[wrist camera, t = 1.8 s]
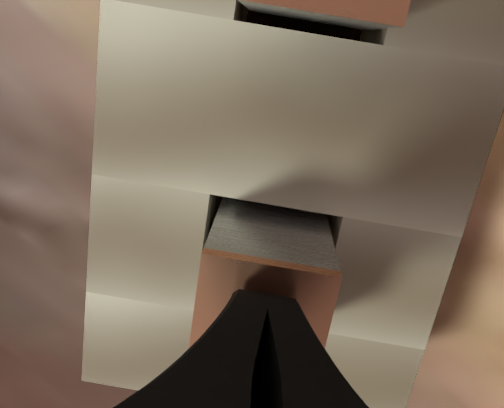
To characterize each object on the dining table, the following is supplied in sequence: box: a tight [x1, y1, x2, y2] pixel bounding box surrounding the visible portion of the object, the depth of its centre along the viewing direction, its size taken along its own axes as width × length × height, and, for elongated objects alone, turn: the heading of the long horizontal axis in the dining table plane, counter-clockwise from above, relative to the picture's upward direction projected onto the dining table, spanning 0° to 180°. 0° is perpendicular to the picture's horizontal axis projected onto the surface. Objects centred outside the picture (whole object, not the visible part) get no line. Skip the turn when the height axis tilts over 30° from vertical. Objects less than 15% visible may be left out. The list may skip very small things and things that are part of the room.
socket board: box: [82, 0, 504, 408], centre depth 14 cm, size 18×10×4 cm, turn 171°
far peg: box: [189, 197, 342, 348], centre depth 13 cm, size 3×3×4 cm
